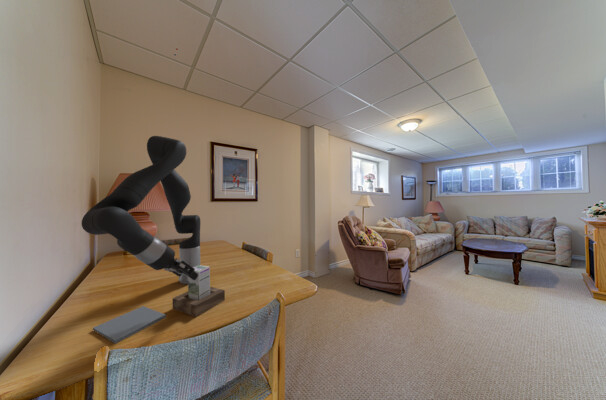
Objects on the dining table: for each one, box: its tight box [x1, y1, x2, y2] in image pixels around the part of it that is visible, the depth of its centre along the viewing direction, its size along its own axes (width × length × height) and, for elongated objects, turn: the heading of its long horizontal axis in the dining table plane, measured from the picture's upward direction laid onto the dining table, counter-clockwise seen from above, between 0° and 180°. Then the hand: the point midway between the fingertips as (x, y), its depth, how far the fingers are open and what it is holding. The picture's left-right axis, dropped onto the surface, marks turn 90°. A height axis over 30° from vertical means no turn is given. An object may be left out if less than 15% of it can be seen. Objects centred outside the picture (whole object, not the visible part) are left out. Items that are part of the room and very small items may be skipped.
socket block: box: [172, 286, 226, 318], centre depth 79 cm, size 13×13×4 cm
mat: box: [92, 305, 167, 345], centre depth 67 cm, size 14×14×1 cm
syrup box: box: [187, 264, 211, 301], centre depth 79 cm, size 6×6×14 cm
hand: (188, 275), depth 75 cm, fingers open, 8 cm apart
